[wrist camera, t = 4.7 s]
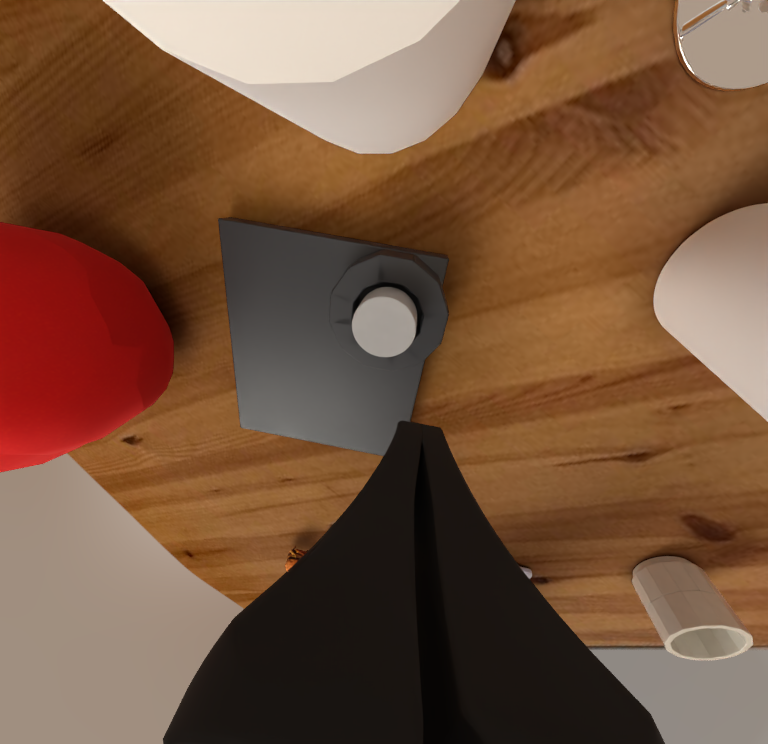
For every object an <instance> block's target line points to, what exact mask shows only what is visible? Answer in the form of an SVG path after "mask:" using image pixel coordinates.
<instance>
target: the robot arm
mask: <svg viewBox="0 0 768 744" xmlns="http://www.w3.org/2000/svg"><path fill="white" fill-rule="evenodd" d="M531 577H532V572H531V570H530V569H528V568H524V567H520V566H519V565H518V564H517V562H516V561H515V560H514V558H513V557H512V555H511V554H510V553H509V551H508V550H507V549H506V547H505V546H504V544H503V543H502V541H501V540H500V538H499V537H498V535H497V534H496V532H495V531H494V529H493V528H492V526H491V525H490V523H489V522H488V520H487V518H486V517H485V515H484V514H483V512H482V510H481V509H480V507H479V505H478V503H477V502H476V500H475V498H474V497H473V495H472V493H471V491H470V489H469V487H468V486H467V484H466V482H465V480H464V478H463V476H462V474H461V472H460V470H459V468H458V466H457V464H456V462H455V460H454V457H453V455H452V453H451V451H450V448H449V446H448V444H447V441H446V439H445V436H444V434H443V431H442V430H441V428H440V427H434V426H429V425H424V424H419V423H414V422H408V421H403V420H402V421H400V422H398V424H397V429H396V432H395V435H394V437H393V439H392V442H391V444H390V446H389V448H388V450H387V451H386V453H385V455H384V457H383V458H382V460H381V462H380V464H379V465H378V467H377V468H376V470H375V471H374V473H373V474H372V476H371V477H370V479H369V480H368V482H367V483H366V485H365V486H364V488H363V489H362V490H361V492H360V493H359V494H358V496H357V497H356V498H355V499H354V501H353V502H352V503H351V504H350V506H349V507H348V508H347V509H346V511H345V512H344V513H343V514H342V515H341V516H340V518H339V519H338V520H337V521H336V522H335V523H334V524H333V525H332V527H331V528H330V529H329V530H328V531H327V532H326V533H325V534H324V535H323V536H322V538H321V539H320V540H319V541H318V542H317V543H316V544H315V545H314V546H313V547H312V548H311V549H310V550H309V551H308V552H307V553H306V554H305V555H304V556H303V557H301V558H300V559H299V560H298V561H297V562H296V563H295V564H294V565H293V566H292V567H291V568H290V569H289V570H288V571H287V572H286V573H285V574H284V575H283V576H282V577H281V578H280V579H278V580H277V581H276V582H275V583H274V584H273V585H272V586H270V587H269V588H268V589H267V590H266V591H265V592H263V593H262V594H261V595H260V596H259V597H258V598H257V599H255V600H254V601H253V602H252V603H251V604H250V605H248V606H247V607H246V608H245V609H244V610H243V611H242V612H240V613H239V614H238V615H237V616H236V617H235V618H234V619H233V620H232V621H231V623H230V624H229V625H228V627H227V628H226V629H225V631H224V632H223V634H222V635H221V636H220V638H219V639H218V641H217V642H216V643H215V645H214V646H213V648H212V649H211V651H210V652H209V654H208V655H207V657H206V658H205V660H204V661H203V663H202V665H201V666H200V668H199V670H198V671H197V673H196V675H195V676H194V678H193V680H192V682H191V683H190V685H189V687H188V689H187V691H186V693H185V695H184V697H183V699H182V701H181V703H180V705H179V707H178V709H177V711H176V714H175V715H174V717H173V719H172V722H171V724H170V726H169V728H168V730H167V732H166V734H165V736H164V738H163V743H164V744H665V743H664V741H663V739H662V737H661V734H660V732H659V730H658V729H657V726H656V724H655V722H654V720H653V718H652V716H651V714H650V713H649V712H648V711H647V710H646V709H645V708H644V707H643V706H642V705H641V703H640V702H639V701H638V700H637V699H636V698H635V697H634V696H633V695H632V694H631V693H630V692H629V691H628V690H627V689H626V688H625V687H624V686H623V685H622V684H621V682H620V681H619V680H618V679H617V678H616V677H615V676H614V675H613V674H612V673H611V672H610V671H609V670H608V669H607V668H606V667H605V666H604V665H603V664H602V663H601V662H600V661H599V660H598V658H597V657H596V656H595V655H594V654H593V653H592V652H591V651H590V650H589V649H588V648H587V647H586V646H585V644H584V643H583V642H582V641H581V640H580V639H579V638H578V637H577V635H576V634H575V633H574V632H573V631H572V630H571V629H570V627H569V626H568V625H567V624H566V623H565V622H564V621H563V620H562V618H561V617H560V616H559V615H558V614H557V613H556V611H555V610H554V609H553V608H552V607H551V605H550V604H549V603H548V602H547V600H546V599H545V598H544V597H543V595H542V594H541V593H540V592H539V590H538V589H537V588H536V587H535V585H534V584H533V583H532V582H531V580H530V578H531Z"/></svg>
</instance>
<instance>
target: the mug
mask: <svg viewBox="0 0 768 744" xmlns="http://www.w3.org/2000/svg"><path fill="white" fill-rule="evenodd" d="M103 1H104V2H105V3H106V4H107V5H109V6H110V7H111V8H112V9H114V10H115V11H116V12H117V13H118V14H120V15H121V16H122V17H123V18H124V19H126V20H127V21H128V22H129V23H130V24H132V25H133V26H134V27H135V28H136V29H138V30H139V31H140V32H141V33H143V34H144V35H145V36H146V37H147V38H149V39H150V40H151V41H152V42H153V43H155V44H156V45H157V46H158V47H159V48H161V49H162V50H163V51H165V52H167V53H169V54H170V55H172V56H174V57H176V58H178V59H180V60H181V61H183V62H185V63H187V64H189V65H190V66H192V67H194V68H196V69H198V70H199V71H201V72H203V73H205V74H207V75H208V76H210V77H212V78H214V79H216V80H217V81H219V82H221V83H223V84H225V85H226V86H228V87H230V88H232V89H234V90H235V91H237V92H239V93H241V94H243V95H244V96H246V97H248V98H250V99H252V100H253V101H255V102H257V103H259V104H261V105H262V106H264V107H266V108H268V109H270V110H271V111H273V112H275V113H277V114H279V115H281V116H282V117H284V118H286V119H288V120H290V121H291V122H293V123H295V124H297V125H299V126H300V127H302V128H304V129H306V130H308V131H309V132H311V133H313V134H315V135H317V136H318V137H320V138H322V139H324V140H326V141H328V142H330V143H333V144H335V145H338V146H340V147H343V148H345V149H348V150H350V151H353V152H356V153H358V154H392V153H395V152H397V151H400V150H402V149H405V148H407V147H410V146H412V145H415V144H418V143H420V142H423V141H425V140H426V139H427V138H429V137H430V136H431V135H432V134H433V133H434V132H436V131H437V130H438V129H439V128H440V127H441V126H443V125H444V124H445V123H446V122H447V121H449V120H450V119H451V118H452V117H453V116H454V115H456V113H457V112H458V110H459V109H460V107H461V106H462V104H463V103H464V101H465V100H466V98H467V97H468V95H469V94H470V92H471V91H472V90H473V88H474V87H475V85H476V84H477V82H478V81H479V79H480V78H481V76H482V75H483V72H484V70H485V68H486V66H487V63H488V61H489V59H490V57H491V54H492V52H493V50H494V48H495V45H496V43H497V41H498V39H499V37H500V34H501V32H502V30H503V28H504V25H505V23H506V21H507V19H508V16H509V14H510V12H511V10H512V7H513V5H514V3H515V1H516V0H103Z"/></svg>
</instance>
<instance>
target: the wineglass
mask: <svg viewBox="0 0 768 744" xmlns="http://www.w3.org/2000/svg"><path fill="white" fill-rule="evenodd" d="M673 33H674V42H675V47H676V51H677V54H678V57H679V59H680V61H681V64H682V65H683V67H684V69H685V70H686V71H687V73H688V74H689V75H690V76H691V77H692V78H693V79H694V80H696V81H697V82H698V83H700V84H702V85H704V86H706V87H709V88H712V89H715V90H721V91H738V90H745V89H750V88H754V87H758V86H761V85H764V84H766V83H768V0H676V1H675V7H674V17H673Z"/></svg>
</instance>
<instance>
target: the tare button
mask: <svg viewBox="0 0 768 744" xmlns="http://www.w3.org/2000/svg"><path fill="white" fill-rule="evenodd" d="M416 326H417V310H416V306H415V304H414V302H413V301H412V299H411V298H410V297H409V296H408V295H407V294H406V293H405V292H403V291H402V290H400V289H397V288H394V287H380V288H377V289H374V290H372V291H371V292H369V293H368V294H367V295H366V296H365V297H364V299H363V300H362V302H361V303H360V305H359V306H358V308H357V310H356V311H355V313H354V316H353V319H352V331H353V335H354V337H355V339H356V341H357V343H358V344H359V345H360V346H361V347H362V348H363V349H364V350H365V351H367V352H368V353H370V354H372V355H375V356H379V357H392V356H396V355H398V354H400V353H402V352H404V351H405V350H406V349H407V348H408V347H409V346H410V345H411V344H412V342H413V340H414V338H415V334H416Z"/></svg>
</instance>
